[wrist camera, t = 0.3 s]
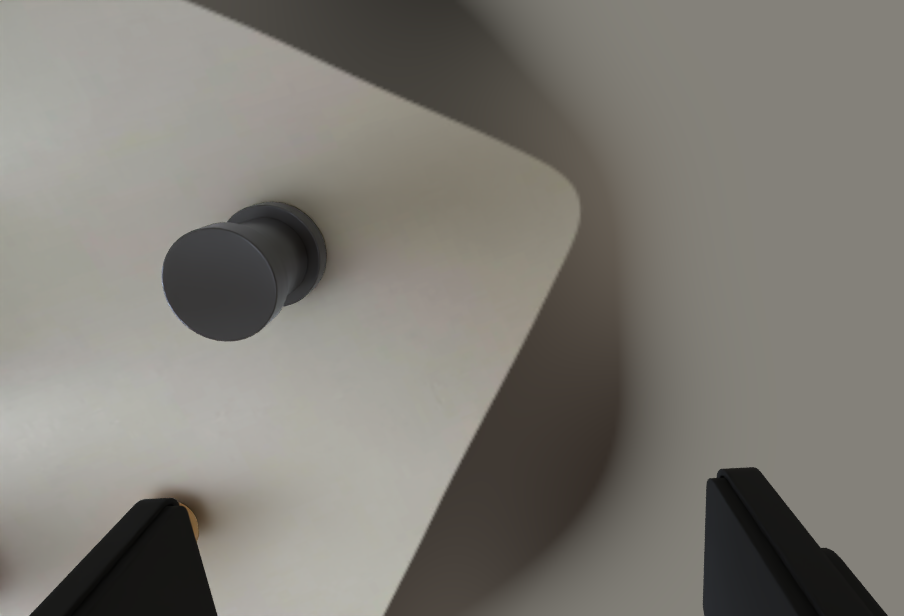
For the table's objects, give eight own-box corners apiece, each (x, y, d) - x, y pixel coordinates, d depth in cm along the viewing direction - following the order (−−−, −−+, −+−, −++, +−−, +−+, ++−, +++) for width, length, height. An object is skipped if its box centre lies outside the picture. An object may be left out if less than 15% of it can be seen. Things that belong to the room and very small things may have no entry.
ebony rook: (217, 206, 29) (141, 229, 22) (317, 196, 28) (267, 216, 22) (239, 304, 30) (174, 351, 24) (334, 296, 30) (293, 341, 23)
